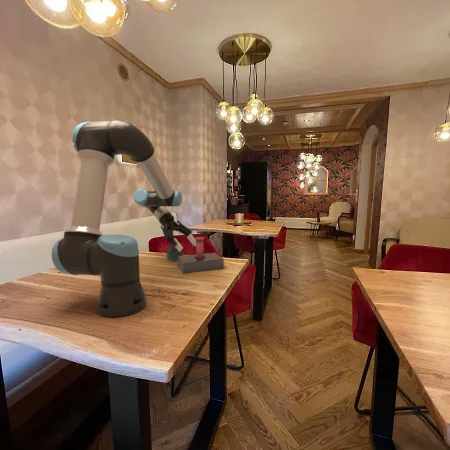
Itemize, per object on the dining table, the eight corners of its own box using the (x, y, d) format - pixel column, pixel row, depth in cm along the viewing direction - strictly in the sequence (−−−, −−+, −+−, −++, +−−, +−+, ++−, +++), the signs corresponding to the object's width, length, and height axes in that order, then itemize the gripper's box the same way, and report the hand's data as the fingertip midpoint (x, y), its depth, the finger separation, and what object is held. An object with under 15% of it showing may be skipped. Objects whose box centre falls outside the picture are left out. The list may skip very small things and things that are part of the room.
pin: (196, 268, 126) (196, 238, 125) (194, 266, 130) (194, 237, 129) (205, 268, 128) (205, 238, 126) (203, 265, 132) (202, 236, 130)
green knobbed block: (169, 261, 141) (168, 245, 140) (165, 257, 149) (165, 242, 148) (185, 259, 145) (184, 244, 144) (180, 256, 153) (180, 241, 152)
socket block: (182, 273, 119) (182, 263, 119) (177, 265, 132) (177, 256, 132) (223, 269, 126) (223, 259, 125) (215, 261, 139) (214, 252, 138)
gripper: (174, 219, 148) (197, 247, 143) (143, 224, 126) (169, 257, 121) (182, 210, 145) (205, 238, 140) (151, 213, 123) (178, 247, 118)
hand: (189, 247), depth 131 cm, fingers open, 13 cm apart
